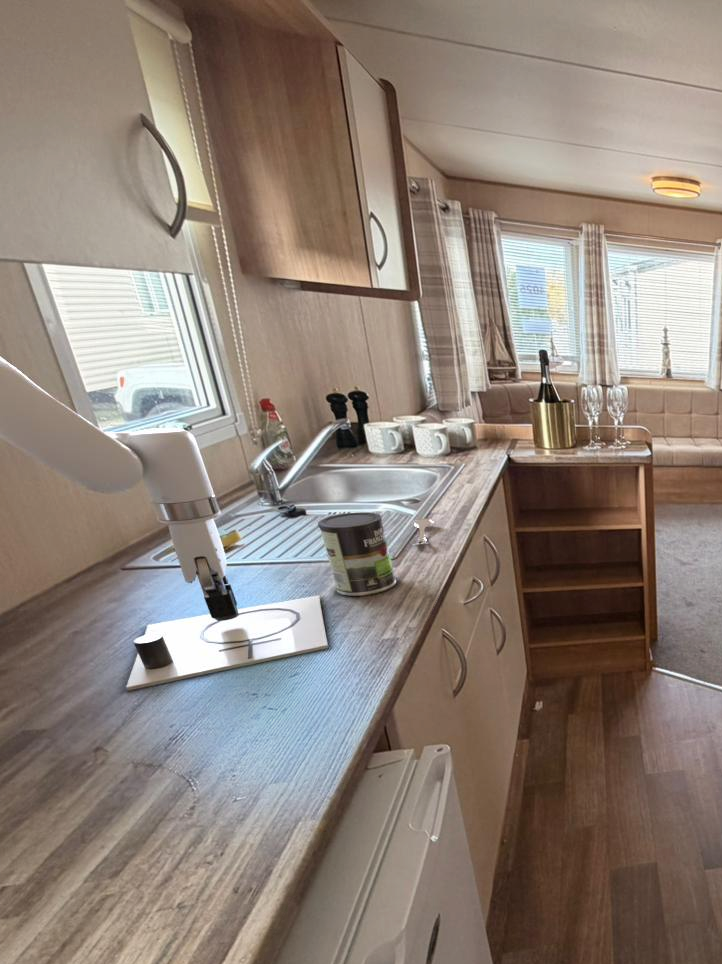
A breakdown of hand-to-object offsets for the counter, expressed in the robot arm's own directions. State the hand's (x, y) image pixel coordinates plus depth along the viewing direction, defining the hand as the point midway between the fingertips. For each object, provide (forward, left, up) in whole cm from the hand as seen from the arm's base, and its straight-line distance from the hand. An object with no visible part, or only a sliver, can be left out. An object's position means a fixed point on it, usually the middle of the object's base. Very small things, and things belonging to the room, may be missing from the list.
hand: (224, 610), depth 109 cm
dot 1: (-8, -11, -3) cm, 14 cm away
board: (+1, -5, -3) cm, 6 cm away
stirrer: (+35, +35, -3) cm, 50 cm away
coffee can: (+21, +9, -3) cm, 23 cm away
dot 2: (0, 0, -1) cm, 1 cm away
